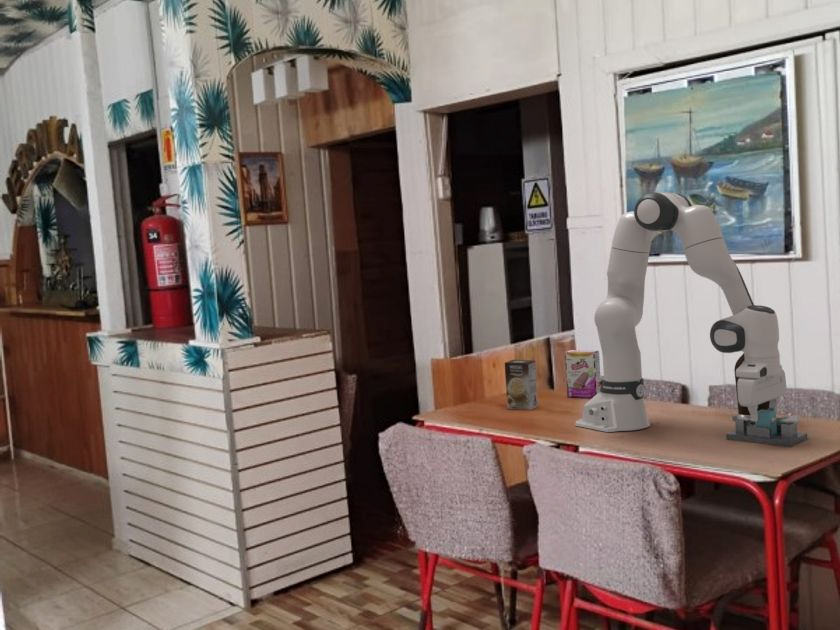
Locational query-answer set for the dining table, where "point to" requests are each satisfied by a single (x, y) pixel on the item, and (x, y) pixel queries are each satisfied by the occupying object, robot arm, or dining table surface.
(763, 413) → the coupler
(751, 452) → the dining table surface
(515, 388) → the coffee box
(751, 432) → the shaft rig
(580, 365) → the candy bar box
